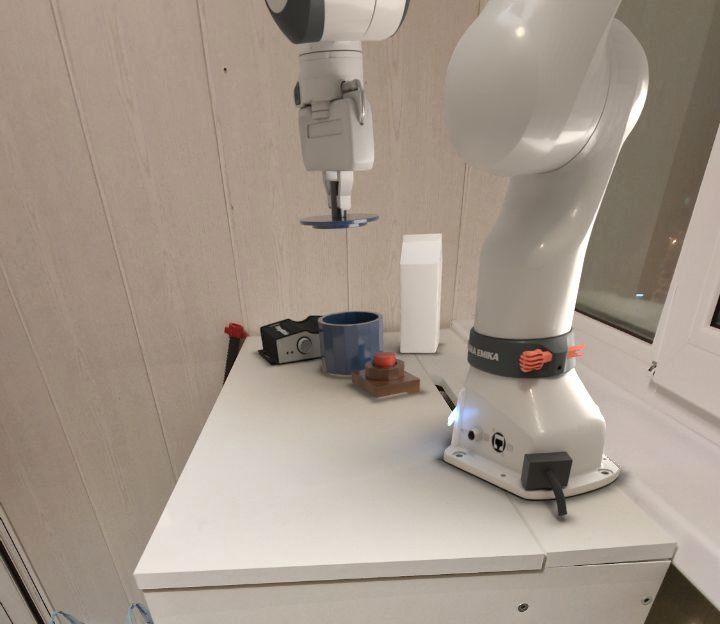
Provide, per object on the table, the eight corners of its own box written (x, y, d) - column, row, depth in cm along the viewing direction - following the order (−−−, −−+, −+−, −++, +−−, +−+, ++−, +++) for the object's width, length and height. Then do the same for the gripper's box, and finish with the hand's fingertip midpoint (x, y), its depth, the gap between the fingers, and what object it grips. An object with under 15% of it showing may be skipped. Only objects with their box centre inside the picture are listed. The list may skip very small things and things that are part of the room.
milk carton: (435, 353, 110) (439, 235, 97) (399, 353, 111) (399, 237, 98) (438, 344, 115) (443, 231, 102) (404, 344, 116) (405, 232, 104)
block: (419, 392, 92) (420, 366, 90) (376, 401, 90) (375, 375, 88) (393, 377, 99) (392, 353, 97) (352, 385, 97) (351, 360, 95)
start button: (399, 366, 92) (399, 355, 90) (379, 370, 91) (379, 358, 90) (389, 361, 94) (389, 350, 93) (370, 365, 93) (370, 353, 92)
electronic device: (252, 323, 114) (343, 310, 119) (257, 352, 117) (344, 338, 122) (269, 336, 104) (366, 322, 109) (273, 367, 108) (368, 352, 113)
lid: (392, 225, 86) (392, 178, 82) (316, 232, 82) (312, 184, 78) (359, 220, 94) (358, 177, 91) (289, 226, 91) (285, 182, 87)
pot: (394, 371, 102) (393, 319, 97) (336, 382, 99) (332, 328, 93) (368, 356, 110) (366, 308, 105) (313, 366, 107) (309, 316, 101)
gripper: (384, 76, 72) (386, 210, 81) (327, 92, 86) (334, 205, 95) (339, 76, 70) (346, 214, 79) (288, 93, 84) (299, 208, 93)
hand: (339, 209), depth 87 cm, fingers closed on lid, 2 cm apart
